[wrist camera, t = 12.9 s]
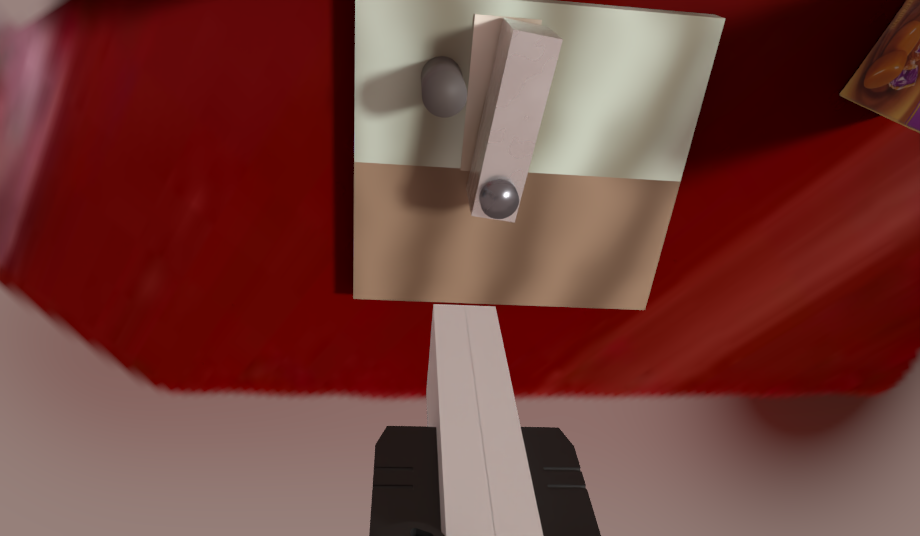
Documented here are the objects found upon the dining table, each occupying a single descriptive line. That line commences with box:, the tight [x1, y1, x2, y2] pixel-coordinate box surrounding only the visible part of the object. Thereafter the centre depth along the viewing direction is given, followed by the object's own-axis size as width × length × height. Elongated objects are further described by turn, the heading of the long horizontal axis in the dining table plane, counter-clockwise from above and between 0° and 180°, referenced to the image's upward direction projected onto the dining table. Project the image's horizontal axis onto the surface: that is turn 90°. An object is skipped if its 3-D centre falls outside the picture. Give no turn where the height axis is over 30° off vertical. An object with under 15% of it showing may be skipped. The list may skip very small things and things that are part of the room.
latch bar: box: [466, 17, 563, 222], centre depth 36 cm, size 10×3×5 cm, turn 169°
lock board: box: [353, 0, 725, 310], centre depth 39 cm, size 21×20×6 cm
